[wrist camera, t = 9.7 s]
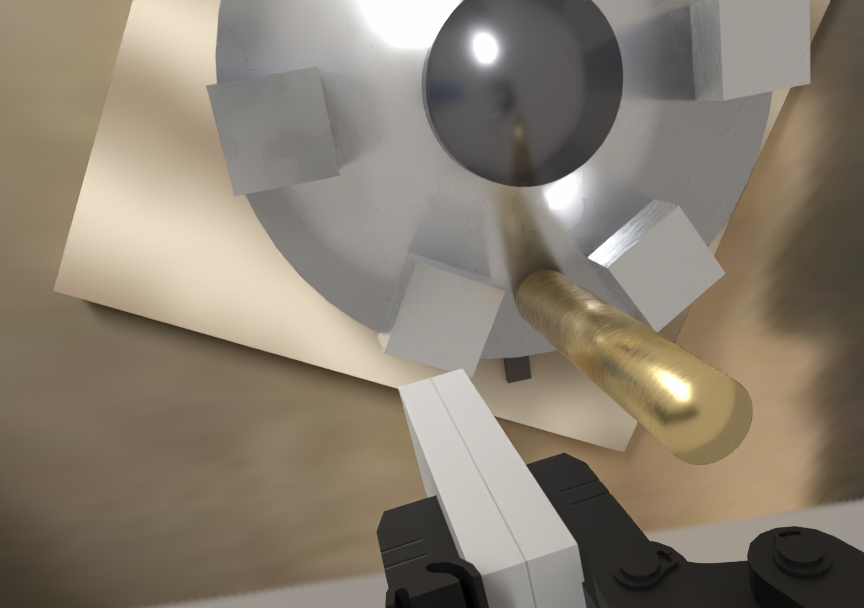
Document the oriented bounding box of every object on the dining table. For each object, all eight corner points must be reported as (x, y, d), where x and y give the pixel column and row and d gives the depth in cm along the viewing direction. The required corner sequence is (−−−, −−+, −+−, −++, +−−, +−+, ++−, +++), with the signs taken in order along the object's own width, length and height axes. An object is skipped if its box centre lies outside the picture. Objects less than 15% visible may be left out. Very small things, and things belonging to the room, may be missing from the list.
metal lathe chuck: (161, -160, 22) (-30, -564, 9) (693, -226, 24) (1176, -621, 11) (293, 370, 27) (299, 620, 14) (719, 271, 30) (1065, 404, 16)
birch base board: (262, -431, 22) (260, -475, 20) (845, -88, 29) (881, -100, 27) (65, 281, 26) (50, 292, 25) (609, 437, 33) (626, 455, 31)
